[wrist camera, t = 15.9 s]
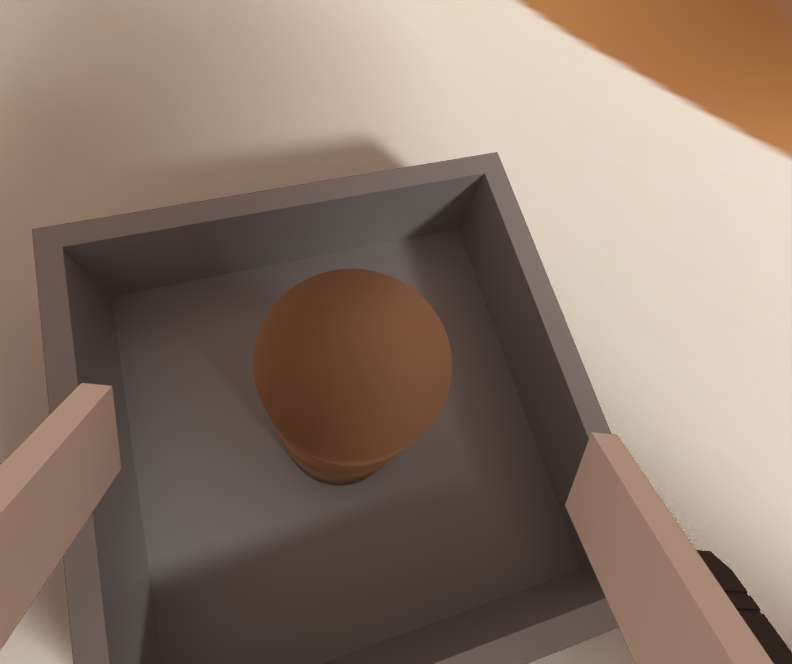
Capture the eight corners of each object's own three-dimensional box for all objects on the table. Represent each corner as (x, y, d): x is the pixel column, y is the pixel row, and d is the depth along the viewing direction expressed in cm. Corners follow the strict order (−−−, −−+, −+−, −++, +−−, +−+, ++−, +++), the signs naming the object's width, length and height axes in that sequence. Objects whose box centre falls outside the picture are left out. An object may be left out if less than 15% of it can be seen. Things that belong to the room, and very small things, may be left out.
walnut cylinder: (396, 383, 25) (454, 279, 14) (389, 489, 24) (449, 467, 12) (293, 373, 25) (269, 258, 14) (278, 481, 23) (236, 451, 12)
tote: (464, 219, 30) (497, 152, 25) (598, 581, 25) (679, 602, 19) (95, 290, 26) (31, 229, 20) (154, 748, 20) (90, 837, 15)
